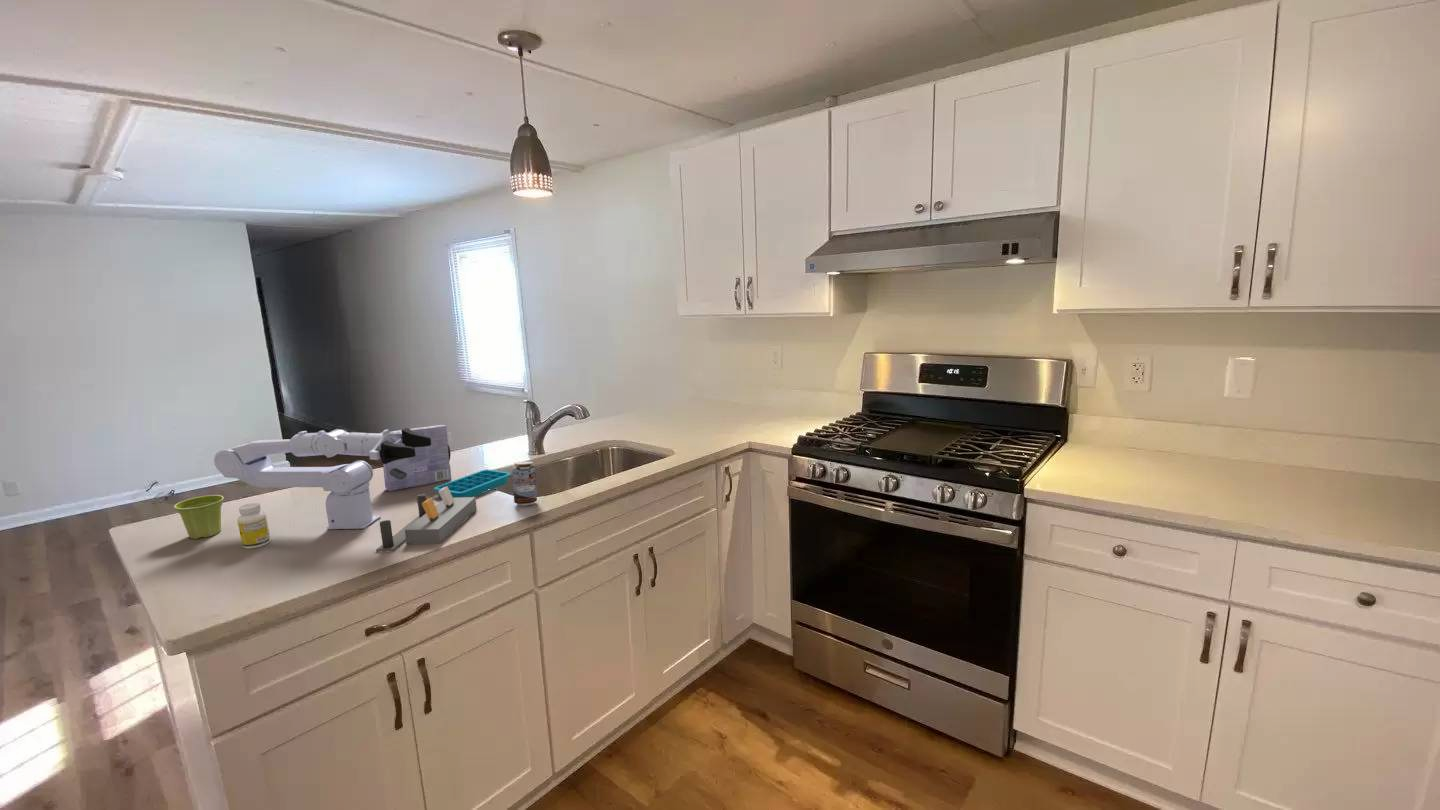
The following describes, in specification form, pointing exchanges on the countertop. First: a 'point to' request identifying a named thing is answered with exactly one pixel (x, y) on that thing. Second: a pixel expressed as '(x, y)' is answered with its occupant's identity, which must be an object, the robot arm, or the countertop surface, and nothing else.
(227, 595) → the countertop surface
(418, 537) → the box
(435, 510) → the block
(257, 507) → the supplement bottle
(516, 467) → the beverage can
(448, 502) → the paddle
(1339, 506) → the countertop surface
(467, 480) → the ice cube tray
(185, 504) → the plant pot
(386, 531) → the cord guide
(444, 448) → the cake pan box
